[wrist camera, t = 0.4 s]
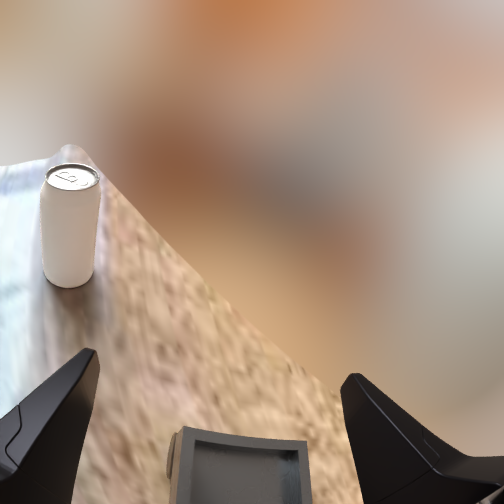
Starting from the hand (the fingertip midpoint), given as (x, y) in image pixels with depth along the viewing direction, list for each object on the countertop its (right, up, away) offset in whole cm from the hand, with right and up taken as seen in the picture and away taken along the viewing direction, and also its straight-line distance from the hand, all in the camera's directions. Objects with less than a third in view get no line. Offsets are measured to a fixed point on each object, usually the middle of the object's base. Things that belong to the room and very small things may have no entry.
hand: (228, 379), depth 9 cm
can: (-21, +2, +19) cm, 28 cm away
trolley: (-2, -17, +5) cm, 18 cm away
